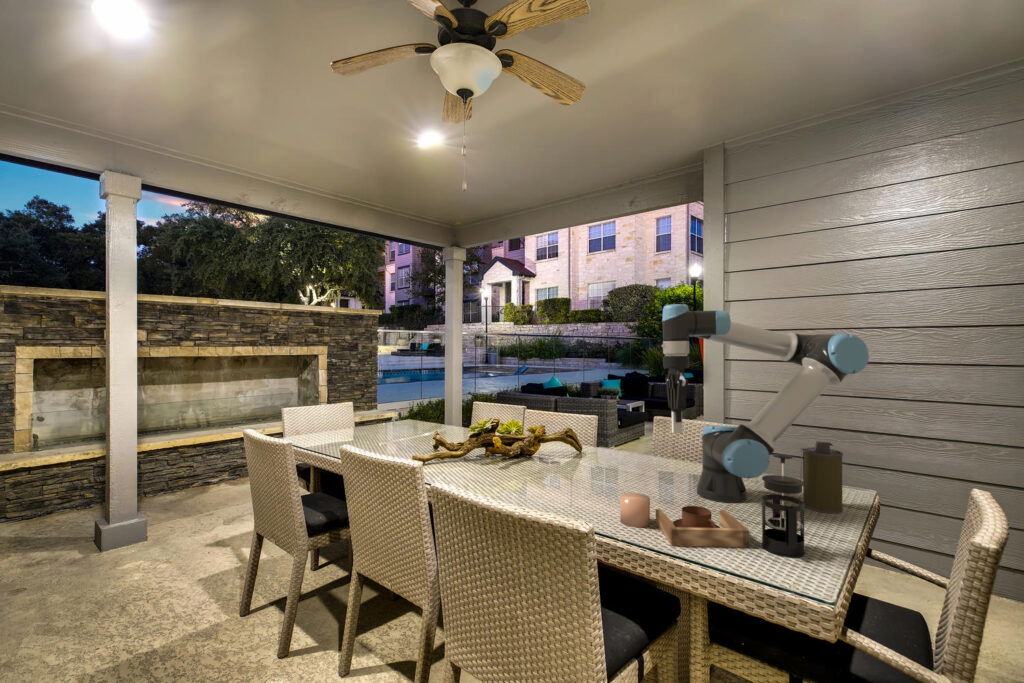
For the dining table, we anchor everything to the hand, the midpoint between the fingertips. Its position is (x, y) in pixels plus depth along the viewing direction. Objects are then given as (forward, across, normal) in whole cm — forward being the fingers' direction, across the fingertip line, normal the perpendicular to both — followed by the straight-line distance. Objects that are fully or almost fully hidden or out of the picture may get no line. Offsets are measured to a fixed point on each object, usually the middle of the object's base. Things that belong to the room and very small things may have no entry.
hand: (677, 432), depth 145 cm
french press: (+24, +30, +15) cm, 40 cm away
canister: (+24, 0, +44) cm, 50 cm away
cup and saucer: (+24, +19, -2) cm, 30 cm away
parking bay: (+23, +20, -2) cm, 30 cm away
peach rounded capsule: (+23, +11, -16) cm, 30 cm away
